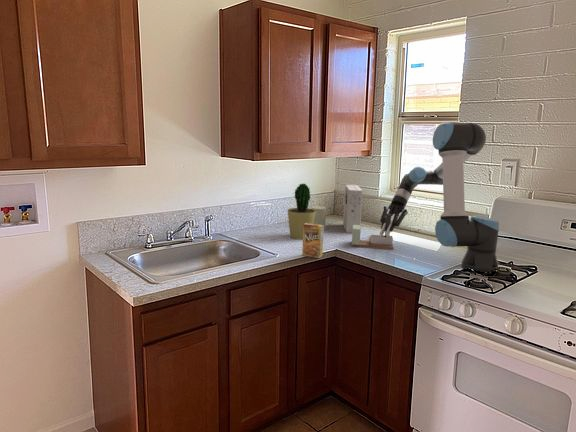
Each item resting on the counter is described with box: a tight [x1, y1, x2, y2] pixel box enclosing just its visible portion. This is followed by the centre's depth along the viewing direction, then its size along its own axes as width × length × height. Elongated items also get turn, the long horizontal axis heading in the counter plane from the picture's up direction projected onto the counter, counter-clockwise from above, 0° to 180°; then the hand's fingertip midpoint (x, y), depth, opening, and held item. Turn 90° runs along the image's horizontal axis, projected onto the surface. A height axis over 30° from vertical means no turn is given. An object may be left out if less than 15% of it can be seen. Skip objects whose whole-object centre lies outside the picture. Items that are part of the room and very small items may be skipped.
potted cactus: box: [286, 183, 316, 240], centre depth 246 cm, size 15×15×30 cm
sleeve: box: [370, 234, 394, 245], centre depth 234 cm, size 4×11×4 cm, turn 81°
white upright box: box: [342, 184, 363, 234], centre depth 269 cm, size 22×8×25 cm, turn 179°
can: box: [310, 205, 327, 228], centre depth 275 cm, size 9×9×12 cm
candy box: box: [301, 223, 325, 259], centre depth 212 cm, size 9×4×15 cm, turn 66°
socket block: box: [351, 224, 362, 245], centre depth 236 cm, size 10×4×8 cm, turn 171°
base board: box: [351, 239, 394, 250], centre depth 236 cm, size 10×21×1 cm, turn 81°
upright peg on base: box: [368, 213, 392, 242], centre depth 233 cm, size 3×11×15 cm, turn 81°
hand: (383, 235), depth 230 cm, fingers closed on upright peg on base, 2 cm apart
